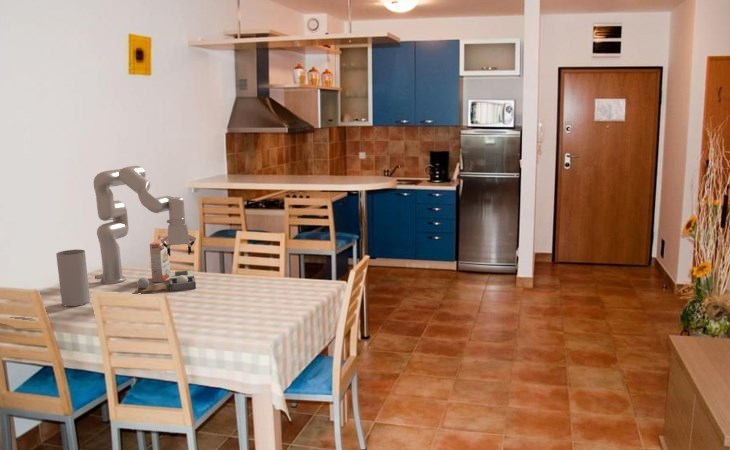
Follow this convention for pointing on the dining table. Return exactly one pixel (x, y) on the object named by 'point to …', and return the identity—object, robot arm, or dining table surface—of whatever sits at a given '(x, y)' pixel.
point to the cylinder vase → (73, 277)
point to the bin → (182, 284)
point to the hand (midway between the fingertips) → (179, 254)
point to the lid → (179, 273)
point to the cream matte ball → (182, 279)
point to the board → (153, 289)
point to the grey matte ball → (143, 283)
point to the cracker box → (159, 261)
